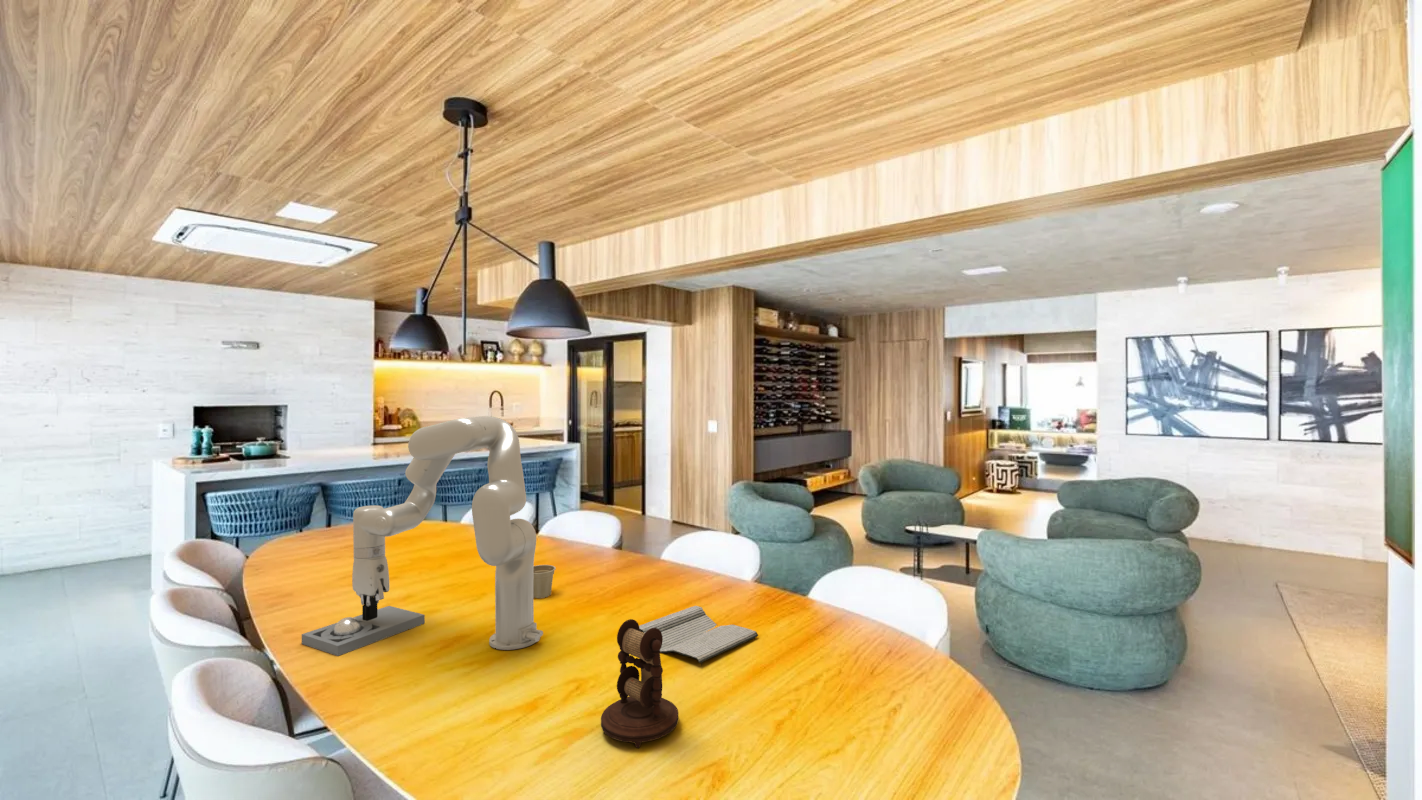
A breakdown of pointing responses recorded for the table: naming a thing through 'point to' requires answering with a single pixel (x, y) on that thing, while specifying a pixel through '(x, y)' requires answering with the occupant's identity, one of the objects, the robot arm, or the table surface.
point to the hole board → (364, 631)
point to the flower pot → (542, 580)
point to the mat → (697, 634)
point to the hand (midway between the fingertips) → (370, 618)
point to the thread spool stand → (639, 690)
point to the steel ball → (347, 627)
